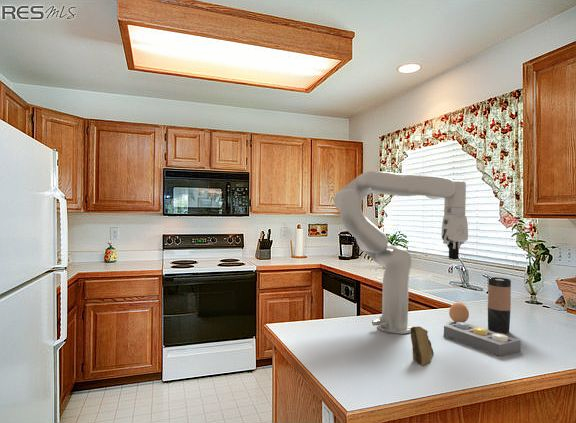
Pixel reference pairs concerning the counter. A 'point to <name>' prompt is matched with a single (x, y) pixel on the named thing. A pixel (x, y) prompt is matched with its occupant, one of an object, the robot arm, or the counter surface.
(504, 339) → the ivory button
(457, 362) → the counter surface
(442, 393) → the counter surface
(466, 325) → the slate button
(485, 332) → the mustard button
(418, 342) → the rock
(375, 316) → the counter surface
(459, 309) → the egg
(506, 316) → the travel mug
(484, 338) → the button console
